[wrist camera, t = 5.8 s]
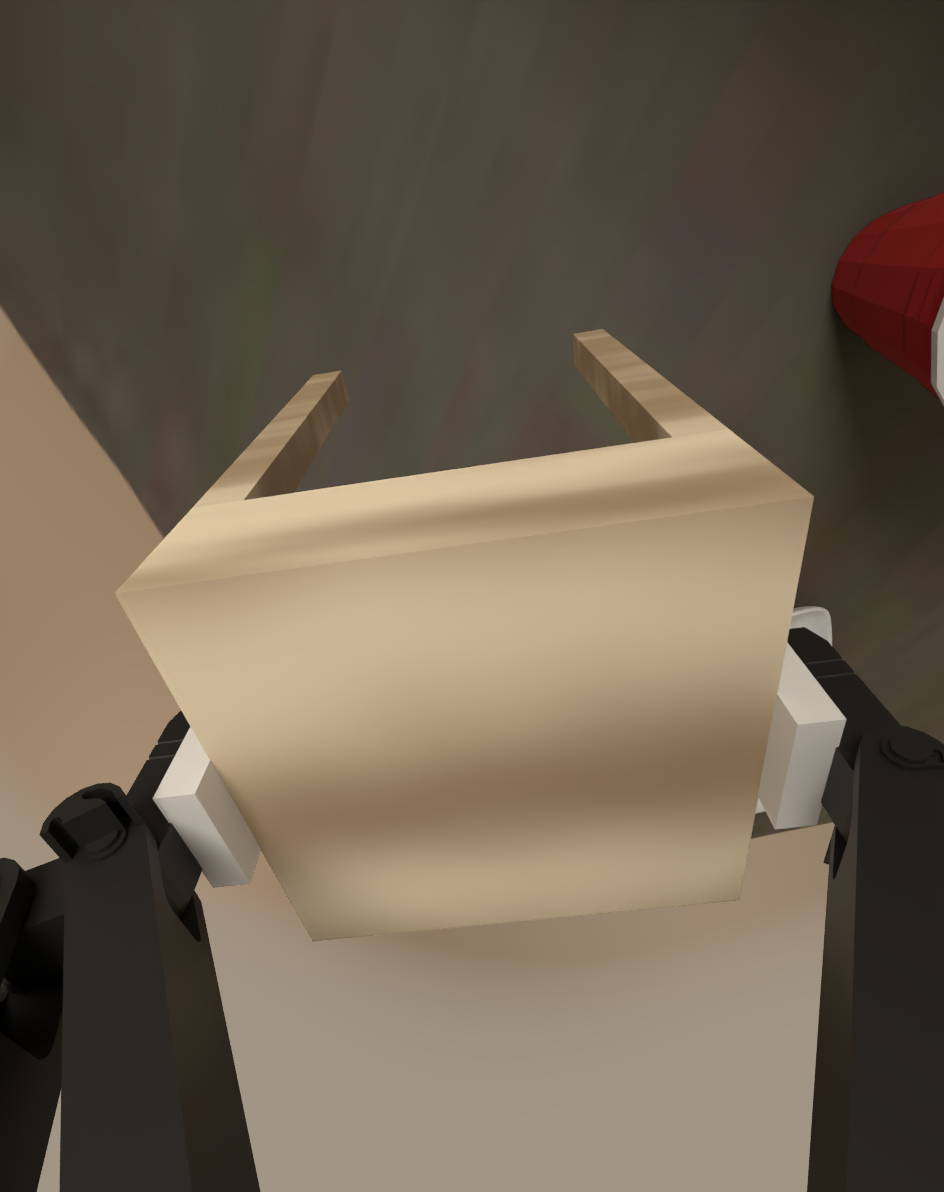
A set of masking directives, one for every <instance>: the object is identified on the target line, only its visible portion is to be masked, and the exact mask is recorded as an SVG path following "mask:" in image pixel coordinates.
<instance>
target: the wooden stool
mask: <svg viewBox="0 0 944 1192" xmlns="http://www.w3.org/2000/svg"><path fill="white" fill-rule="evenodd" d="M573 346H574V365H575V366H576V367H577V369H578V370H579V371H580V373H581V374H582V375H583V377H584V378H585V379H586V380H587V382H588V383H589V384H590V386H591V387H592V388H593V390H594V391H595V392H596V393H597V395H598V396H599V397H600V399H601V400H602V401H603V402H604V404H605V405H606V406H607V408H608V409H609V410H610V412H611V413H612V414H613V415H614V417H615V418H616V419H617V421H618V422H619V423H620V424H621V426H622V427H623V428H624V430H625V431H626V432H627V434H628V435H629V436H630V437H631V439H632V440H633V441H634V443H631V444H624V445H617V446H610V447H604V448H597V449H590V450H583V451H576V452H569V453H563V454H556V455H549V456H542V457H535V458H529V459H522V460H515V461H508V462H501V463H494V464H488V465H481V466H474V467H467V468H460V469H454V470H447V471H440V472H433V473H426V474H419V475H413V476H406V477H399V478H392V479H385V480H378V481H372V482H365V483H358V484H351V485H344V486H338V487H331V488H324V489H317V490H310V491H303V492H297V493H294V491H295V489H296V488H297V486H298V484H299V483H300V481H301V479H302V478H303V476H304V474H305V473H306V471H307V469H308V468H309V466H310V464H311V463H312V461H313V459H314V458H315V456H316V454H317V453H318V451H319V449H320V448H321V446H322V444H323V443H324V441H325V439H326V438H327V436H328V434H329V433H330V431H331V429H332V427H333V426H334V424H335V422H336V421H337V419H338V417H339V416H340V414H341V412H342V411H343V409H344V407H345V406H346V404H347V402H348V401H349V398H348V394H347V390H346V387H345V383H344V379H343V375H342V371H337V372H331V373H324V374H318V375H313V376H312V377H311V378H310V379H309V381H308V382H307V383H306V384H305V385H304V386H303V387H302V388H301V389H300V390H299V392H298V393H297V394H296V395H295V396H294V397H293V398H292V399H291V400H290V401H289V403H288V404H287V405H286V406H285V407H284V408H283V409H282V410H281V411H280V412H279V413H278V415H277V416H276V417H275V418H274V419H273V420H272V421H271V422H270V423H269V424H268V426H267V427H266V428H265V429H264V430H263V431H262V432H261V433H260V434H259V435H258V436H257V438H256V439H255V440H254V441H253V442H252V443H251V444H250V445H249V446H248V447H247V449H246V450H245V451H244V452H243V453H242V454H241V455H240V456H239V457H238V458H237V460H236V461H235V462H234V463H233V464H232V465H231V466H230V467H229V468H228V469H227V470H226V472H225V473H224V474H223V475H222V476H221V477H220V478H219V479H218V480H217V481H216V483H215V484H214V485H213V486H212V487H211V488H210V489H209V490H208V491H207V492H206V494H205V495H204V496H203V497H202V498H201V499H200V500H199V501H198V502H197V503H196V504H195V506H194V507H193V508H192V509H191V510H190V511H189V512H188V513H187V514H186V515H185V517H184V518H183V519H182V520H181V521H180V522H179V523H178V524H177V525H176V526H175V527H174V529H173V530H172V531H171V532H170V533H169V534H168V535H167V536H166V537H165V538H164V540H163V541H162V542H161V543H160V544H159V545H158V546H157V547H156V548H155V549H154V551H153V552H152V553H151V554H150V555H149V556H148V557H147V558H146V560H144V562H143V563H142V564H141V565H140V566H139V567H138V568H137V569H136V570H135V571H134V573H133V574H132V575H131V576H130V577H129V578H128V579H127V580H126V581H125V582H124V584H123V585H122V586H121V587H120V588H119V589H118V590H117V591H116V592H115V595H116V596H117V598H118V600H119V602H120V603H121V605H122V607H123V609H124V611H125V612H126V614H127V616H128V618H129V619H130V621H131V623H132V625H133V626H134V628H135V630H136V632H137V633H138V635H139V637H140V639H141V640H142V642H143V644H144V646H145V647H146V649H147V651H148V653H149V654H150V656H151V658H152V660H153V662H154V663H155V665H156V667H157V668H158V670H159V672H160V674H161V676H162V677H163V679H164V681H165V683H166V684H167V686H168V688H169V690H170V691H171V693H172V695H173V697H174V698H175V700H176V702H177V704H178V705H179V707H180V709H181V711H182V712H183V714H184V716H185V718H186V719H187V721H188V723H189V725H190V727H191V728H192V730H193V732H194V734H195V735H196V737H197V739H198V741H199V742H200V744H201V746H202V748H203V749H204V751H205V753H206V755H207V756H208V758H209V760H211V762H212V764H213V765H214V767H215V769H216V771H217V773H218V774H219V776H220V778H221V780H222V781H223V783H224V785H225V787H226V788H227V790H228V792H229V794H230V795H231V797H232V799H233V801H234V802H235V804H236V806H237V808H238V809H239V811H240V813H241V815H242V816H243V818H244V820H245V822H246V824H247V825H248V827H249V829H250V831H251V832H252V834H253V836H254V838H255V839H256V841H257V843H258V845H259V846H260V848H261V851H262V853H263V855H264V856H265V858H266V860H267V862H268V863H269V865H270V867H271V869H272V870H273V872H274V874H275V876H276V877H277V879H278V881H279V883H280V884H281V886H282V888H283V890H284V892H285V893H286V895H287V897H288V899H289V900H290V902H291V904H292V905H293V907H294V909H295V911H296V913H297V914H298V916H299V918H300V919H301V921H302V923H303V925H304V926H305V928H306V930H307V932H308V934H309V935H310V937H311V939H312V940H313V941H321V940H331V939H342V938H352V937H362V936H373V935H384V934H394V933H405V932H414V931H425V930H435V929H446V928H456V927H467V926H477V925H487V924H498V923H507V922H518V921H528V920H539V919H550V918H560V917H570V916H580V915H590V914H601V913H611V912H621V911H632V910H643V909H653V908H663V907H674V906H684V905H695V904H705V903H715V902H725V901H736V900H739V899H740V893H741V887H742V883H743V877H744V872H745V866H746V861H747V856H748V850H749V845H750V839H751V834H752V829H753V823H754V818H755V812H756V807H757V802H758V792H759V786H760V781H761V775H762V770H763V764H764V759H765V754H766V748H767V743H768V737H769V732H770V726H771V721H772V716H773V710H774V705H775V699H776V694H777V693H778V688H779V683H780V678H781V672H782V667H783V661H784V656H785V651H786V645H787V640H788V634H789V629H790V624H791V618H792V613H793V607H794V602H795V597H796V591H797V586H798V580H799V575H800V570H801V564H802V559H803V553H804V548H805V543H806V537H807V532H808V527H809V521H810V516H811V510H812V505H813V500H814V496H813V495H812V494H810V493H809V492H808V491H806V490H805V489H804V488H803V487H801V486H800V485H799V484H798V483H796V482H795V481H794V480H793V479H791V478H790V477H789V476H788V475H786V474H785V473H784V472H782V471H781V470H780V469H779V468H777V467H776V466H775V465H774V464H772V463H771V462H770V461H769V460H767V459H766V458H765V457H764V456H762V455H761V454H760V453H758V452H757V451H756V450H755V449H753V448H752V447H751V446H750V445H748V444H747V443H746V442H745V441H743V440H742V439H741V438H740V437H738V436H737V435H736V434H734V433H733V432H732V431H731V430H729V429H728V428H727V427H726V426H724V425H723V424H722V423H721V422H719V421H718V420H717V419H716V418H714V417H713V416H712V415H710V414H709V413H708V412H707V411H705V410H704V409H703V408H702V407H700V406H699V405H698V404H697V403H695V402H694V401H693V400H692V399H690V398H689V397H688V396H686V395H685V394H684V393H683V392H681V391H680V390H679V389H678V388H676V387H675V386H674V385H673V384H671V383H670V382H669V381H668V380H666V379H665V378H664V377H662V376H661V375H660V374H659V373H657V372H656V371H655V370H654V369H652V368H651V367H650V366H649V365H647V364H646V363H645V362H644V361H642V360H641V359H640V358H638V357H637V356H636V355H635V354H633V353H632V352H631V351H630V350H628V349H627V348H626V347H625V346H623V345H622V344H621V343H620V342H618V341H617V340H616V339H615V338H613V337H612V336H611V335H609V334H608V333H607V332H606V331H604V330H603V329H600V330H594V331H588V332H582V333H575V334H573Z"/></svg>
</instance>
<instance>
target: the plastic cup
mask: <svg viewBox="0 0 944 1192" xmlns="http://www.w3.org/2000/svg"><path fill="white" fill-rule="evenodd" d="M832 296H833V306H834V308H835V310H836V311H837V313H838V314H839V316H840V318H841V319H842V321H843V322H844V324H845V325H846V327H847V328H849V329H850V330H852V331H853V332H855V333H856V334H857V335H859V336H860V337H862V338H863V339H864V340H865V341H866V343H867V344H868V345H869V346H870V347H872V348H873V349H875V350H876V351H877V352H879V353H880V354H882V355H883V356H885V357H886V358H887V359H889V360H890V361H892V362H893V363H895V364H896V365H897V366H899V367H900V368H902V369H903V370H904V371H906V372H907V373H909V374H910V375H912V376H913V377H914V378H916V379H917V380H919V381H920V383H921V385H922V386H923V387H925V388H926V389H928V390H929V391H931V392H933V394H934V396H935V397H936V398H937V399H939V400H941V402H942V404H943V406H944V192H942V193H940V194H938V195H935V196H933V197H931V198H928V199H924V200H921V201H917V202H914V203H910V204H907V205H904V206H902V207H900V208H898V209H895V210H893V211H891V212H889V213H886V214H884V215H882V216H880V217H879V218H877V219H875V220H873V221H872V222H871V223H870V224H869V225H867V226H866V227H865V228H864V229H863V230H862V231H861V232H860V233H859V234H857V235H856V236H855V237H854V238H853V239H852V241H851V242H850V244H849V245H848V247H847V249H846V250H845V252H844V253H843V255H842V256H841V258H840V260H839V261H838V264H837V268H836V271H835V275H834V278H833V282H832Z"/></svg>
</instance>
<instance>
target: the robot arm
mask: <svg viewBox="0 0 944 1192" xmlns="http://www.w3.org/2000/svg"><path fill="white" fill-rule="evenodd" d="M758 797H759V799H760V801H761V803H762V805H763V807H764V809H765V811H766V813H767V815H768V817H769V819H770V821H771V823H772V825H773V827H774V829H784V828H793V827H803V826H813V825H817V823H818V819H819V816H820V812H821V809H822V805H823V806H824V808H825V809H826V811H827V813H828V814H829V816H830V817H831V819H832V821H833V822H834V824H835V827H834V830H833V833H832V837H831V840H830V843H829V847H828V850H827V853H826V856H825V859H824V863H826V864H829V876H828V891H827V906H826V920H825V935H824V950H823V966H822V980H821V995H820V1009H819V1024H818V1039H817V1053H816V1069H815V1084H814V1099H813V1112H812V1127H811V1142H810V1157H809V1172H808V1186H807V1192H944V745H943V744H942V743H941V742H940V741H938V740H936V739H935V738H933V737H931V736H930V735H928V734H926V733H924V732H921V731H918V730H915V729H912V728H909V727H905V726H901V725H900V724H899V723H898V722H897V721H896V720H895V718H894V717H893V716H892V715H891V714H890V713H889V711H888V710H887V709H886V708H885V707H884V706H883V704H882V703H881V702H880V701H879V700H878V699H877V698H876V696H875V695H874V694H873V693H872V692H871V691H870V689H869V688H868V687H867V686H866V685H865V684H864V683H863V681H862V680H861V679H860V678H859V677H858V676H857V675H854V671H853V670H852V669H851V667H850V666H849V665H848V664H847V663H846V662H845V661H842V657H841V656H840V655H839V654H838V652H837V651H836V650H835V649H834V648H833V647H832V646H831V644H830V643H829V642H828V641H827V640H825V639H824V638H822V637H820V636H819V635H817V634H815V633H814V632H812V631H810V630H809V629H807V628H805V627H801V628H793V629H789V634H788V640H787V645H786V651H785V656H784V661H783V667H782V672H781V678H780V683H779V688H778V693H777V694H776V699H775V705H774V710H773V716H772V721H771V726H770V732H769V737H768V743H767V748H766V754H765V759H764V764H763V770H762V775H761V781H760V786H759V792H758ZM40 836H41V837H42V838H43V839H44V840H45V842H47V844H48V845H49V846H50V847H51V848H52V849H53V851H54V852H55V853H56V854H57V855H58V856H59V857H60V858H58V859H56V860H53V861H51V862H48V863H46V864H43V865H40V866H37V867H35V868H32V869H30V870H27V871H24V870H23V869H22V868H21V867H20V866H19V864H18V863H17V862H16V861H14V860H11V859H7V858H1V859H0V1192H37V1187H38V1183H39V1179H40V1175H41V1170H42V1166H43V1162H44V1158H45V1154H46V1150H47V1145H48V1141H49V1137H50V1132H51V1129H52V1124H53V1120H54V1116H55V1112H56V1108H57V1103H58V1099H59V1095H60V1091H61V1142H60V1145H61V1146H60V1192H260V1188H259V1183H258V1178H257V1173H256V1168H255V1163H254V1159H253V1154H252V1148H251V1143H250V1139H249V1134H248V1129H247V1124H246V1119H245V1114H244V1109H243V1104H242V1100H241V1094H240V1090H239V1085H238V1080H237V1075H236V1070H235V1065H234V1060H233V1055H232V1051H231V1046H230V1041H229V1036H228V1032H227V1026H226V1021H225V1016H224V1012H223V1006H222V1002H221V997H220V992H219V987H218V982H217V977H216V972H215V967H214V962H213V957H212V953H211V947H210V943H209V938H208V933H207V928H206V923H205V918H204V914H203V908H202V903H201V901H200V899H199V897H198V895H197V894H196V892H195V891H194V889H195V887H196V884H197V882H198V879H199V877H200V874H201V872H203V873H204V875H205V876H206V878H207V879H208V881H209V882H210V884H211V885H212V886H213V888H215V887H224V886H234V885H244V884H250V883H251V880H252V877H253V874H254V870H255V867H256V864H257V861H258V857H259V854H260V851H261V848H260V846H259V845H258V843H257V841H256V839H255V838H254V836H253V834H252V832H251V831H250V829H249V827H248V825H247V824H246V822H245V820H244V818H243V816H242V815H241V813H240V811H239V809H238V808H237V806H236V804H235V802H234V801H233V799H232V797H231V795H230V794H229V792H228V790H227V788H226V787H225V785H224V783H223V781H222V780H221V778H220V776H219V774H218V773H217V771H216V769H215V767H214V765H213V764H212V762H211V760H209V758H208V756H207V755H206V753H205V751H204V749H203V748H202V746H201V744H200V742H199V741H198V739H197V737H196V735H195V734H194V732H193V730H192V728H191V727H190V725H189V723H188V721H187V719H186V718H185V716H184V714H183V712H182V711H180V712H179V713H178V714H177V715H176V716H175V717H174V718H173V719H172V720H171V721H170V722H169V723H168V724H167V726H166V728H165V729H164V731H163V733H162V735H161V736H160V738H159V740H158V745H156V746H155V747H154V749H153V750H152V752H151V754H150V756H149V760H147V761H146V763H145V764H144V766H143V768H142V770H141V771H140V773H139V775H138V777H137V778H136V780H135V782H134V784H133V785H132V787H131V789H130V790H129V792H128V794H127V796H126V795H125V793H124V792H123V791H122V789H121V788H120V787H119V786H117V785H114V784H112V783H102V784H95V785H93V786H90V787H87V788H84V789H81V790H80V791H78V792H76V793H75V794H73V795H71V796H70V797H68V798H66V799H65V800H64V801H63V802H62V803H60V804H59V805H58V806H57V807H56V808H55V809H54V810H53V811H52V812H51V813H50V815H49V816H48V817H47V819H46V820H45V821H44V823H43V826H42V829H41V832H40Z"/></svg>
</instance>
